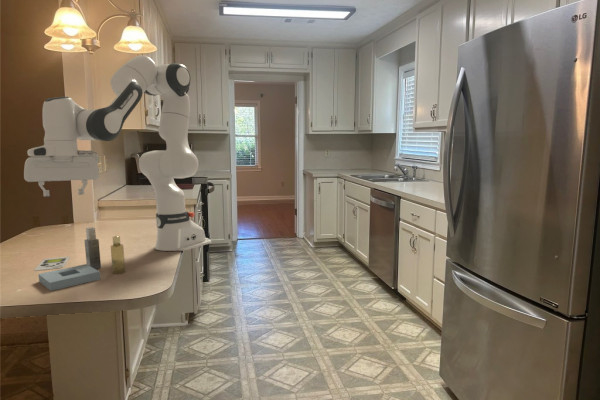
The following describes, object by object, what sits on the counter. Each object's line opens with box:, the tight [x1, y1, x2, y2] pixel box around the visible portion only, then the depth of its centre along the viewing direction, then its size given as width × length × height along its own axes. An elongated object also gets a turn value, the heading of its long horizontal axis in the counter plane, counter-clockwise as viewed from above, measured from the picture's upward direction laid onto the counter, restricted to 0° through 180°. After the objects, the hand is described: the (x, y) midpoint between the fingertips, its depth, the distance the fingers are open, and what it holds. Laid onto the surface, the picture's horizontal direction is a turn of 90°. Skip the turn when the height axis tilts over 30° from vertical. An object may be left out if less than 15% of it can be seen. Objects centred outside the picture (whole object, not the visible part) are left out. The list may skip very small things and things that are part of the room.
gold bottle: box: [110, 235, 126, 275], centre depth 139 cm, size 4×4×12 cm
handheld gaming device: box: [34, 256, 70, 272], centre depth 151 cm, size 9×1×15 cm
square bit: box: [84, 226, 102, 270], centre depth 143 cm, size 3×3×14 cm
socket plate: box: [38, 263, 101, 292], centre depth 132 cm, size 14×12×2 cm
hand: (64, 195), depth 131 cm, fingers open, 8 cm apart
